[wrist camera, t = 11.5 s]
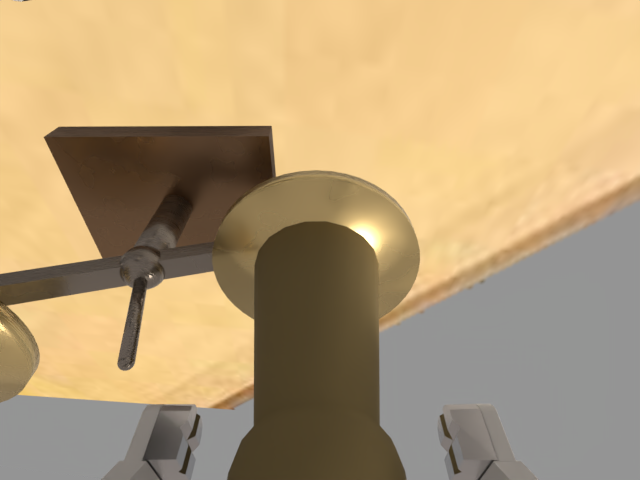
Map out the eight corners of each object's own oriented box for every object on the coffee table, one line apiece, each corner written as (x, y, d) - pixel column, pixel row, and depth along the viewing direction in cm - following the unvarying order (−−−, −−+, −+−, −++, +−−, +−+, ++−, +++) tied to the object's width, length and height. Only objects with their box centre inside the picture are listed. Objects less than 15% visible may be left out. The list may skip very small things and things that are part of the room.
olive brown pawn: (396, 289, 19) (465, 579, 10) (293, 325, 20) (277, 600, 12) (346, 200, 15) (386, 518, 7) (229, 251, 17) (138, 559, 8)
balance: (405, 116, 20) (488, 267, 11) (385, 253, 27) (426, 429, 17) (-81, 118, 20) (-456, 273, 10) (12, 255, 26) (-168, 434, 17)
